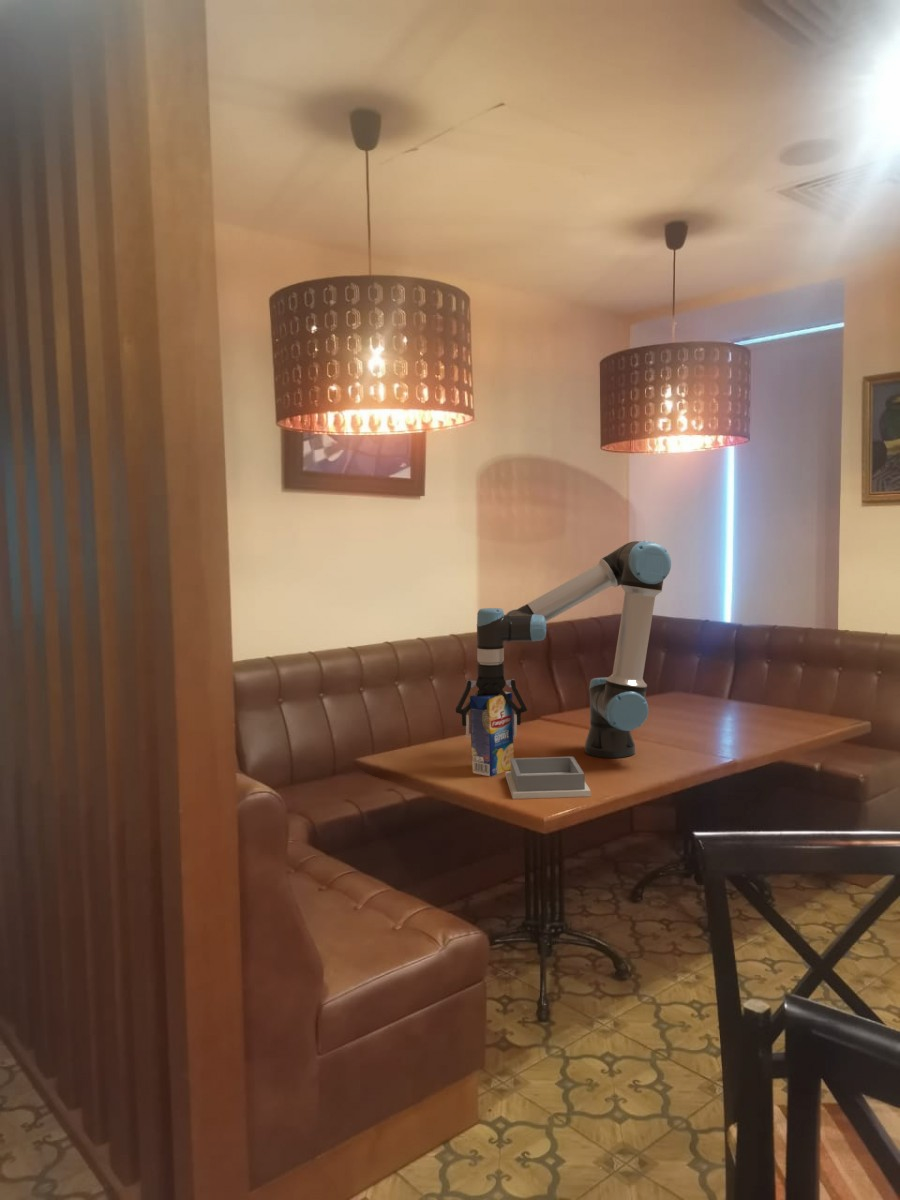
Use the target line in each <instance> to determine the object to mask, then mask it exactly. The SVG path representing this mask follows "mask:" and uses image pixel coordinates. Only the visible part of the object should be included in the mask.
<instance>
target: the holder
mask: <svg viewBox="0 0 900 1200" xmlns="http://www.w3.org/2000/svg"><path fill="white" fill-rule="evenodd" d="M510 763H511V769H510V771H509V770H507V771H505V779H506V781H507V785H508V789H509V791H510V794H511V798H512V800H519V799H521V800H523V799H526V800H527V799H550V798H551V799H552V798H553V799H555V798H559V799H560V798H584V797H585V798H587V797H592V791H591V789H590V787H589V785H588V784H587V782H586V780H585V779H586V778H585V773H584V771H583V769H582V768H581V766H580V765H579V763H578V761H577V760H576V758H575V757H574V756H549V757H547V756H546V757H545V756H544V757H542V756H541V757H519V758H518V757H517V758H516V757H514V758H510Z"/></svg>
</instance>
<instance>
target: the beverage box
mask: <svg viewBox="0 0 900 1200" xmlns="http://www.w3.org/2000/svg"><path fill="white" fill-rule="evenodd" d="M504 692H505V693H506V695H507V696H508V697H509V698H510V699H511V700H512V701H513V692H509V691H504ZM469 699H470V700H469V701H470V710H469V712H470V740H471V741H470V742H471V743H470V746H471V749H470V751H471V773H472V774H476V775H482V776H486V777H491V778H492V777H494V776H497V775H500V774H501V773H504V772H505V773H506V772H507V771H509V770H510V771H511V763H510V758H515V755H514V752H515V751H514V735H513V713H514V712H513V711H514V709H513V708H512V707H511V706H510V705H509V704H508V703H507V701H506V700H505V699H504V697H503V695H500V694H498V695H482V696H476V695H475V694H473V695H471V696H469Z"/></svg>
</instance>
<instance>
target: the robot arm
mask: <svg viewBox="0 0 900 1200" xmlns="http://www.w3.org/2000/svg"><path fill="white" fill-rule="evenodd" d="M671 568H672V560H671V556H670V553H669V552H668V550H667V549H666V548H665V547H664V546H663V545H661V544H660V543H658V542H654V541H650V540H648V541H647V540H643V541H641V540H639V541H637V540H636V541H630V542H627V543H625V544H623V545H622V546H620V547H618V548H617V549H615V550H613V551H611V552H610V553H609V554H608V555H605V556H603V557H602V558H600V559H599V561H598V564H596V565H595V566H593V567H592V568H589V569H587V570H586V571H584V572H582V573H580V574H578V575H577V576H575V577H573V578H571V579H569V580H567V581H565V582H564V583H562V584H560V585H558V586H557V587H555V588H553V589H551V590H549V591H547V592H546V593H544V594H542V595H540V596H538V597H536V598H535V599H532V601H530V602H528V603H526V604H524V605H523V606H520V607H519V608H517V609H512V610H510V611H508V612H507V613H505V612H504V609H502V608H497V607H485V608H480V609H479V610H478V611H477V617H476V639H477V642H476V643H477V645H476V646H477V647H476V648H477V649H476V652H477V653H476V654H477V662H478V664H477V679H476V680H471V679H467V680H466V685H465V688H464V691H463V692H462V695H461V696H460V698H459V701H458V703H457V705H456V706H455V713H456V714H460V715H461V724H462V725H461V726H462V727H465V738H466V739H470V715H469V713H468V712H470V700H469V701H468V702H467V704H466V705H465V706H464V704H465V702H466V701H467V700H466V699H467V698H468V697H469V694H470V692H471V689H474V687H475V686H476V687H477V688H478V690H477V692H476V693H475V694H474V695H476V696H482V695H498V694H500V695H503V697H504V699H505V700H506V701H507V703H508V704H509V705H510V706H511V707H512V708H513V711H514V712H513V738H518V726H520V725H521V721H522V720H521V719H522V717H521V715H522V714H523V713H525V712H527V711H528V709H527V707H526V703H525V702H524V700H523V699H522V697H521V695H520V692H519V690H518V689H517V686H516V680H515V679H514V678H511V679H507V680H506V679H505V664H504V663H503V662H504V661H505V649H504V648H505V647H504V645H505V643H509V642H533V643H534V642H539V641H544V639H546V636H547V622H549V621H551V620H552V619H554V618H555V617H558V616H559V615H561V614H562V613H564V612H567V611H568V610H570V609H572V608H574V607H575V606H578V605H579V604H581V603H583V602H585V601H586V600H588V599H590V598H592V597H594V596H595V595H598V594H599V593H601V592H602V591H605V590H607V589H608V588H610V587H613V588H617V587H619V586H620V587H621V588H622V590H623V592H624V597H623V602H622V610H621V616H620V622H619V630H618V637H617V643H616V649H615V656H614V662H613V668H612V673H611V675H609V676H608V677H594V678H592V679H590V682H589V687H588V689H589V717H590V720H589V721H590V727H589V731H588V733H587V737H586V739H585V743H584V752H585V753H586V755H589V756H592V757H597V758H603V759H604V758H607V759H609V758H610V759H613V758H614V759H618V758H619V759H620V758H626V757H631V756H633V755H635V754H636V744H635V741H634V739H633V735H632V732H631V731H633V730H636V729H638V728H640V727H641V726H642V725H643V724H644V723H645V721H646V720H647V719H648V715H649V705H648V701H647V700H646V695H647V687H648V684H647V683H646V682H645V680H644V678H643V677H644V672H645V667H646V665H645V664H646V659H647V651H648V648H649V647H648V645H649V641H650V640H649V639H650V633H651V628H652V627H651V626H652V621H653V619H652V618H653V614H654V607H655V600H656V597H657V596H658V595H660V593H662V591H663V585H664V580H665V579H666V578H667V577H668V575H670V571H671ZM506 685H507V687H508V688H511V690H512V693H513V694H514V696H515V698H516V701H517V702H518V704H519V705H520V707H518V706H517V704H515V702H514V701H513V699H512V700H511V699H510V698H509V697H508V696H507V695H506V693H505V692H506V691H504V690H503V689H504V688H505V687H506ZM463 706H464V707H463Z"/></svg>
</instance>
